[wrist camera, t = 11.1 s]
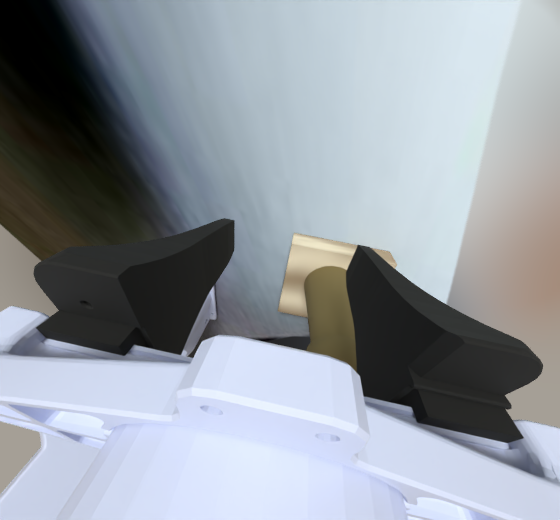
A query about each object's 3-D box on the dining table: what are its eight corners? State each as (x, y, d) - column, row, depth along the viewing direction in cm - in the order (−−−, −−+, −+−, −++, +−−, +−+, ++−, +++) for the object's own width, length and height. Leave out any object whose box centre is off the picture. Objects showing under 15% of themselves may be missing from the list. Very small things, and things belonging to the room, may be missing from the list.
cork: (331, 310, 25) (340, 412, 17) (293, 288, 24) (281, 385, 15) (368, 284, 22) (404, 394, 13) (327, 256, 21) (335, 357, 12)
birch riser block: (354, 313, 29) (357, 328, 27) (280, 298, 29) (277, 311, 27) (389, 251, 22) (397, 264, 20) (294, 232, 23) (291, 243, 21)
